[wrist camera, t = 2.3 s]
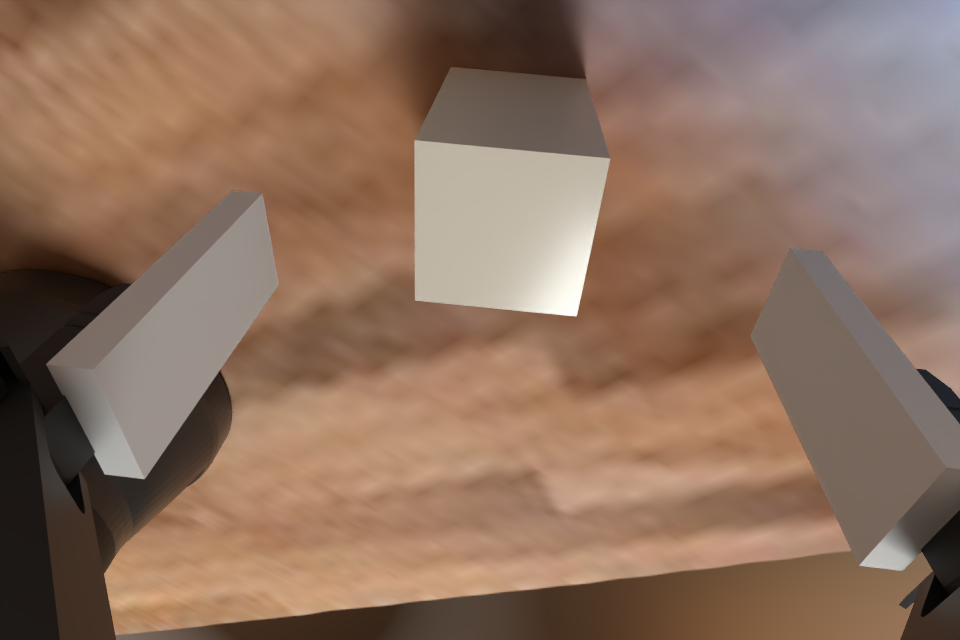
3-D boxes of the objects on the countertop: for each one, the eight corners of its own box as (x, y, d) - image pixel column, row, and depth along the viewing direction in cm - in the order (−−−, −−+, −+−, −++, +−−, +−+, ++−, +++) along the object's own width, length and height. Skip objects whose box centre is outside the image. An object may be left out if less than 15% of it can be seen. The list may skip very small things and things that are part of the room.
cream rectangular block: (446, 193, 24) (414, 300, 17) (451, 66, 21) (415, 140, 14) (564, 204, 24) (576, 316, 17) (586, 79, 21) (610, 158, 14)
